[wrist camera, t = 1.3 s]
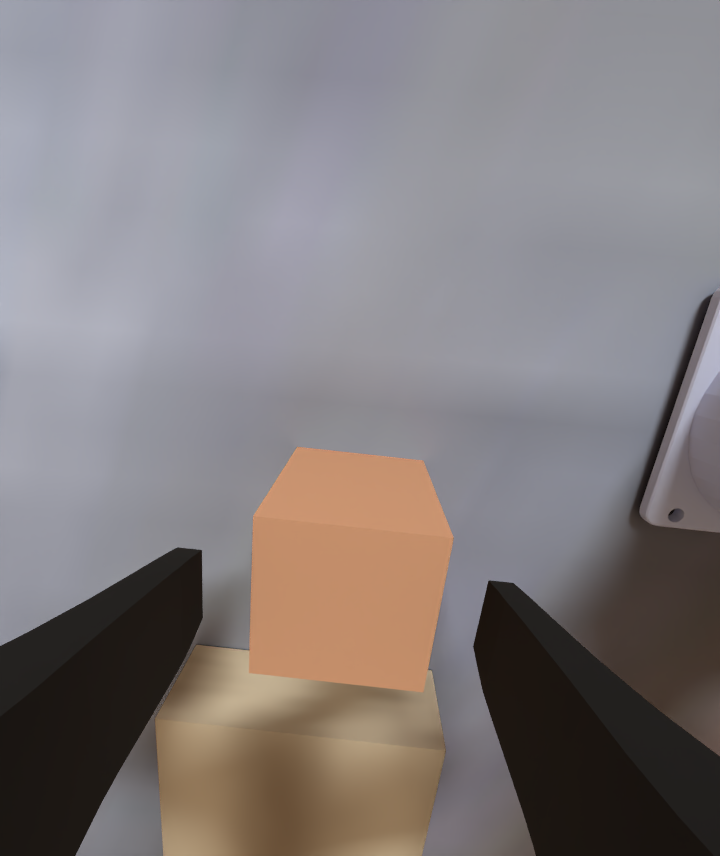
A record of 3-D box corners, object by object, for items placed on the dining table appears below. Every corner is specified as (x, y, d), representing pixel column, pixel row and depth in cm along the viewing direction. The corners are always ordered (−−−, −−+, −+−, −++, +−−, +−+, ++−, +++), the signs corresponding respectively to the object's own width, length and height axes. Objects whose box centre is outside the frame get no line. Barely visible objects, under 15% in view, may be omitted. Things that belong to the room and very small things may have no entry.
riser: (431, 670, 15) (445, 751, 12) (400, 828, 18) (405, 924, 15) (196, 644, 15) (155, 718, 12) (199, 806, 18) (166, 898, 15)
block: (422, 459, 13) (453, 537, 8) (405, 567, 14) (423, 692, 9) (297, 446, 13) (253, 516, 8) (291, 555, 14) (248, 672, 9)
